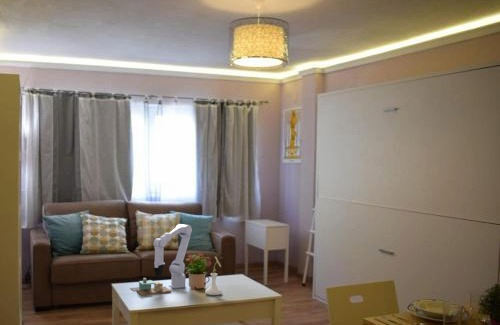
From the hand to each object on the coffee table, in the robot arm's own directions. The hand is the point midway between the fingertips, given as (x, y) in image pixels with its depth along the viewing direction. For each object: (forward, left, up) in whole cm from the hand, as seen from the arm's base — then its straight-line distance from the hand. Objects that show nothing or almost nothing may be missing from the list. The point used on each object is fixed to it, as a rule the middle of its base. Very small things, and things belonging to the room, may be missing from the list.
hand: (158, 276), depth 346 cm
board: (+3, 0, -10) cm, 11 cm away
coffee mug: (-30, +2, -11) cm, 32 cm away
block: (0, 0, -10) cm, 10 cm away
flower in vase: (-32, +20, -11) cm, 39 cm away
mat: (+10, -12, -10) cm, 19 cm away
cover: (+8, 0, -9) cm, 12 cm away
